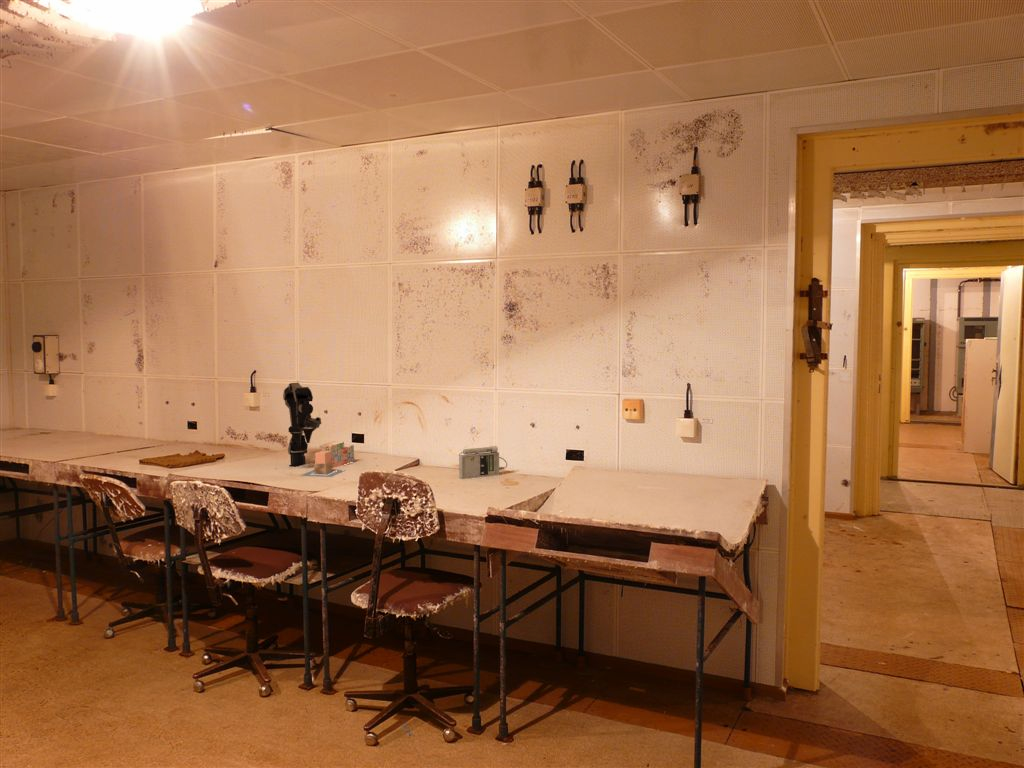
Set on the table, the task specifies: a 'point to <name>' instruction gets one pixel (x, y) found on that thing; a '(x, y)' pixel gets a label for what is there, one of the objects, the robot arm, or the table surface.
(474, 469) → the geiger counter
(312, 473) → the board
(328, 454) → the terracotta cube
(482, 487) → the table surface
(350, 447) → the stack of blocks
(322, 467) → the walnut base block
